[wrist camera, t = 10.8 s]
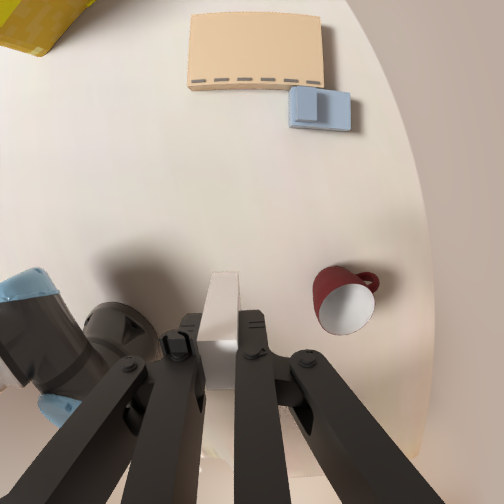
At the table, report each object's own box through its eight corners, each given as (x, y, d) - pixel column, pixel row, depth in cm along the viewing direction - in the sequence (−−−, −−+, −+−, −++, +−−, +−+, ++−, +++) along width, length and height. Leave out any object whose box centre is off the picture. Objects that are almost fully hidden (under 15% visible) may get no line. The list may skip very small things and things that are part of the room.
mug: (356, 239, 41) (383, 263, 32) (370, 281, 44) (395, 311, 34) (296, 268, 43) (308, 300, 33) (314, 308, 45) (328, 344, 36)
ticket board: (191, 91, 34) (186, 85, 31) (194, 23, 30) (191, 14, 27) (318, 92, 34) (324, 87, 31) (315, 24, 30) (320, 16, 27)
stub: (288, 127, 36) (295, 122, 31) (288, 91, 34) (294, 82, 29) (343, 131, 36) (357, 128, 31) (343, 96, 34) (356, 89, 29)
